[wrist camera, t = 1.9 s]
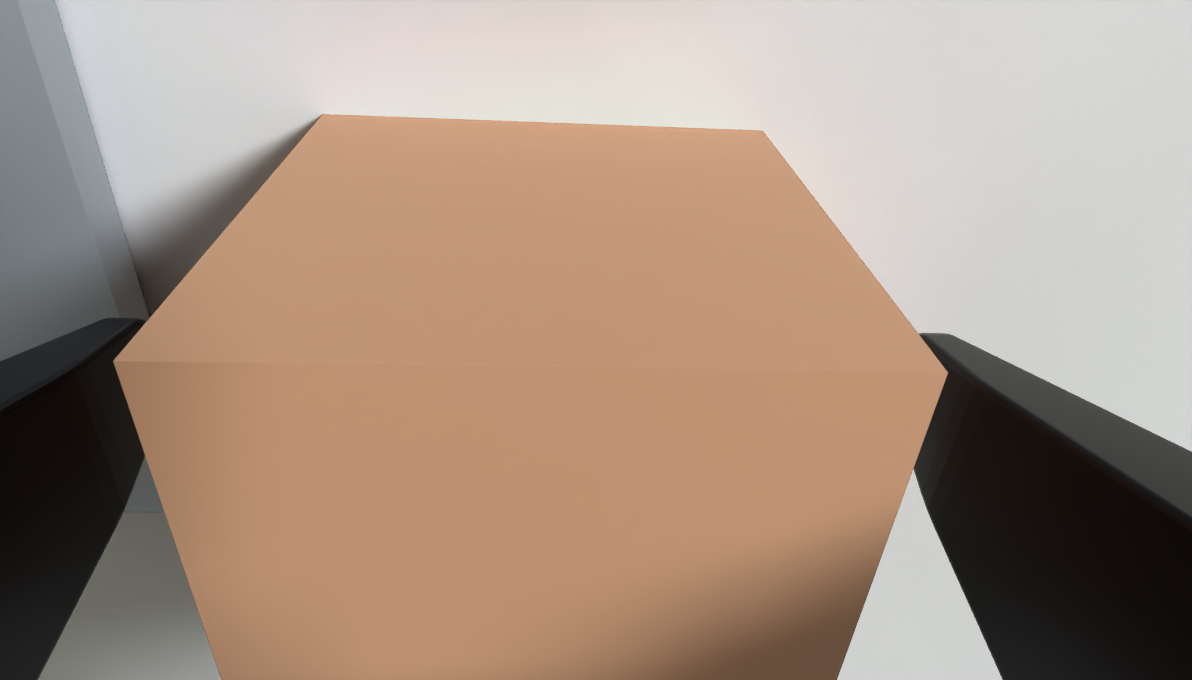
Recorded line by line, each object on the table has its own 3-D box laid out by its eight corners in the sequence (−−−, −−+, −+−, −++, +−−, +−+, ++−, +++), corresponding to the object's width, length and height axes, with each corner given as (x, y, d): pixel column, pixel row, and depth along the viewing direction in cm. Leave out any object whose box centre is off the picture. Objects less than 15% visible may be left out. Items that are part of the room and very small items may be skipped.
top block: (705, 454, 12) (794, 795, 7) (370, 452, 11) (266, 809, 7) (760, 129, 9) (947, 372, 5) (324, 112, 9) (112, 360, 4)
